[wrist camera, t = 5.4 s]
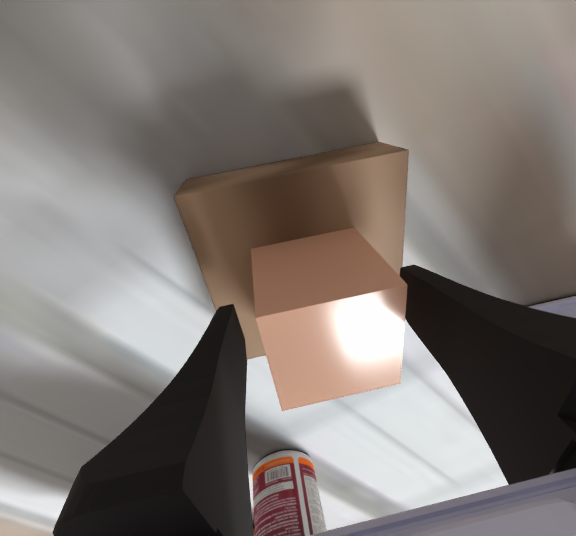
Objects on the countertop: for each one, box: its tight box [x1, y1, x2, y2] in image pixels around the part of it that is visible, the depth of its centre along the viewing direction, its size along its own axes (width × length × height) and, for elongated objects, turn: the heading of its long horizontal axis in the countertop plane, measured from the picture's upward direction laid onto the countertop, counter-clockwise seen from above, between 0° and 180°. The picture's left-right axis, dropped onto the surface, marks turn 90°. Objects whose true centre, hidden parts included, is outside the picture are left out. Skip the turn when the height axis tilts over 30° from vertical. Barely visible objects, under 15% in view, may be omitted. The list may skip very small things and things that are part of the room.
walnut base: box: [174, 142, 409, 359], centre depth 16 cm, size 10×10×3 cm
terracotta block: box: [251, 227, 407, 411], centre depth 13 cm, size 5×5×5 cm
